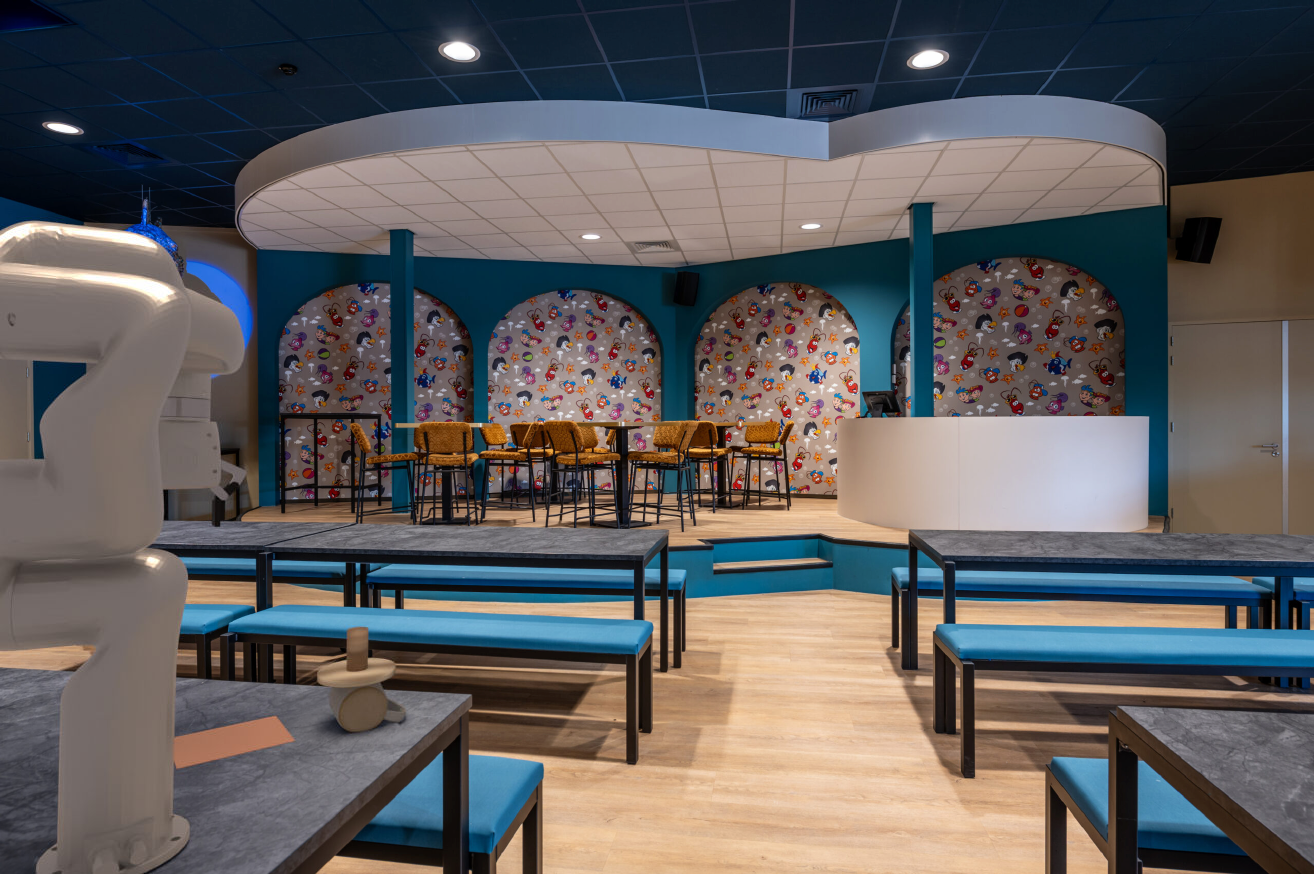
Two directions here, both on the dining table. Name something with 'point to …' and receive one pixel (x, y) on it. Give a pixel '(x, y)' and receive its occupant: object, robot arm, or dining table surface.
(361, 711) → the ceramic mug
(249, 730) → the mat
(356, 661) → the lid
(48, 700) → the dining table surface
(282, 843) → the dining table surface
